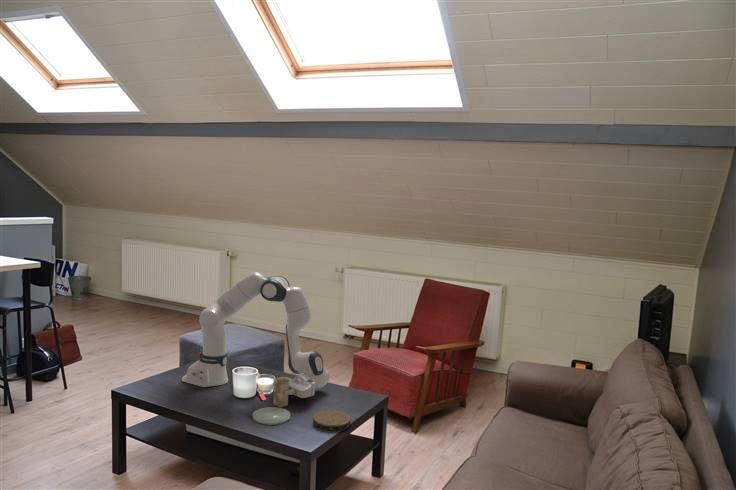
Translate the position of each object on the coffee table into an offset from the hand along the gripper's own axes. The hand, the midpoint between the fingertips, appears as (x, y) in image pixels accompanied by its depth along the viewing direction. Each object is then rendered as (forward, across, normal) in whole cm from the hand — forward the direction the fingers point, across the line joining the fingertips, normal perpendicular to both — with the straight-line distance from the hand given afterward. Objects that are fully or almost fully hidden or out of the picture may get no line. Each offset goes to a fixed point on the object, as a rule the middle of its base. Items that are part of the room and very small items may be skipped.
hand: (279, 391), depth 269 cm
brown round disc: (-3, +30, +7) cm, 31 cm away
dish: (+11, +8, +6) cm, 15 cm away
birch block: (-1, 0, +6) cm, 7 cm away
